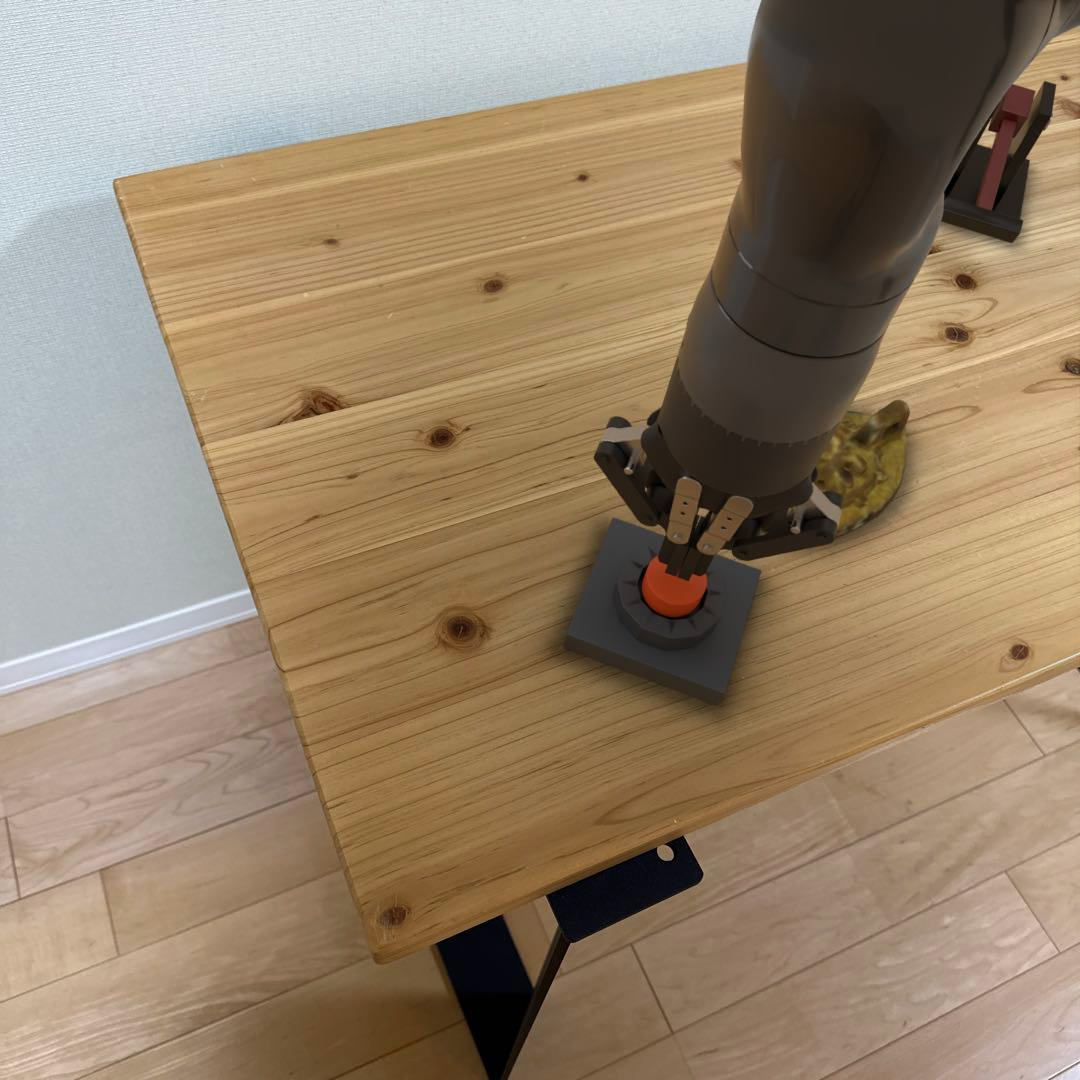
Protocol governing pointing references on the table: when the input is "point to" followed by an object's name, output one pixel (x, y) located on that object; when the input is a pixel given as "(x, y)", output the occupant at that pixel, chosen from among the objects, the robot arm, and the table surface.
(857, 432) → the olive oval piece
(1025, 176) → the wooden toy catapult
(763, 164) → the robot arm
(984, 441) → the table surface
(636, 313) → the table surface
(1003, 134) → the dark red t-shaped bar
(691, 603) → the button
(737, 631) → the button box
